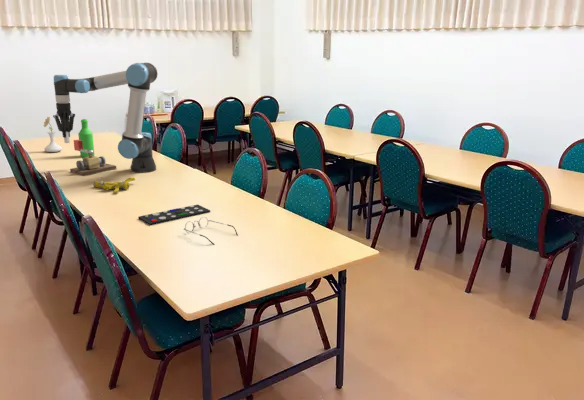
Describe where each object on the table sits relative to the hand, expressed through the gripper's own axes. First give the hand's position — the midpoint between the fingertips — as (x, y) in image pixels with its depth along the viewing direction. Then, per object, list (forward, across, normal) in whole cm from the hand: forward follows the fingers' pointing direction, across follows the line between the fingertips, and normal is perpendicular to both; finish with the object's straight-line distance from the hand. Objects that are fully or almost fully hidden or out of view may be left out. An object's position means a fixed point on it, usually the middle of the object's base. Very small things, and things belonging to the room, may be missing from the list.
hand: (67, 142), depth 296 cm
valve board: (+17, -9, +10) cm, 22 cm away
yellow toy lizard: (+17, +8, +50) cm, 54 cm away
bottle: (+17, -31, -27) cm, 45 cm away
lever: (+6, -7, +6) cm, 11 cm away
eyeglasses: (+17, +28, +138) cm, 142 cm away
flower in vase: (+18, -25, -57) cm, 64 cm away
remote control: (+17, +20, +109) cm, 112 cm away
